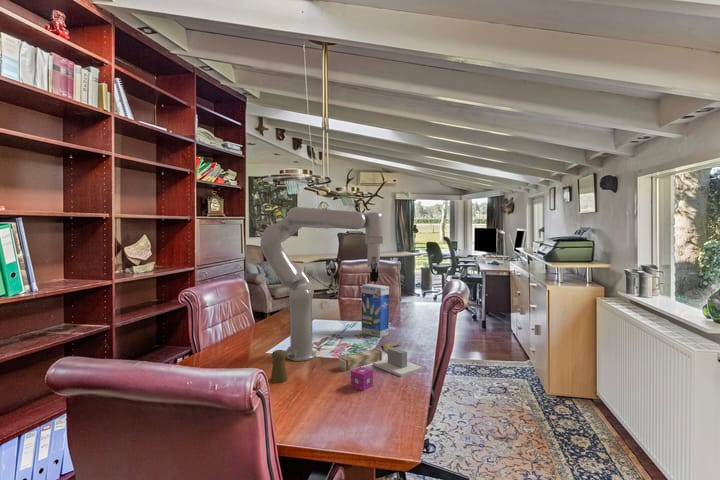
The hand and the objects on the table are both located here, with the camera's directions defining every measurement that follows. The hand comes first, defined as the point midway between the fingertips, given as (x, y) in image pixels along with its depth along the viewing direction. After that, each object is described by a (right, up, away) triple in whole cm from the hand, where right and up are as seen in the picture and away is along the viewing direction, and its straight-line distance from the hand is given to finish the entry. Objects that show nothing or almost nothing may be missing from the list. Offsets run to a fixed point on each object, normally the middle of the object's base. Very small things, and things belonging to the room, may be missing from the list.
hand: (374, 279), depth 169 cm
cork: (-36, -35, -26) cm, 56 cm away
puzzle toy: (-6, -35, -31) cm, 47 cm away
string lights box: (+2, -33, +36) cm, 49 cm away
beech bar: (-6, -34, -9) cm, 36 cm away
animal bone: (+9, -34, +6) cm, 36 cm away
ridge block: (+9, -34, -13) cm, 37 cm away
